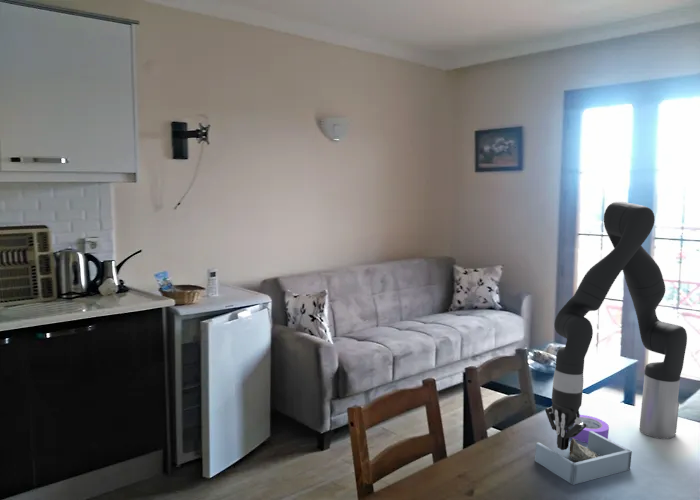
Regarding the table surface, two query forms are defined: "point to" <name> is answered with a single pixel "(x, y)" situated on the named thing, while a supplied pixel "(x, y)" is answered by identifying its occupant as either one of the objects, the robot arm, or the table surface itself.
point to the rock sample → (580, 452)
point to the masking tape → (592, 428)
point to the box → (608, 463)
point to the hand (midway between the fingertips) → (562, 448)
